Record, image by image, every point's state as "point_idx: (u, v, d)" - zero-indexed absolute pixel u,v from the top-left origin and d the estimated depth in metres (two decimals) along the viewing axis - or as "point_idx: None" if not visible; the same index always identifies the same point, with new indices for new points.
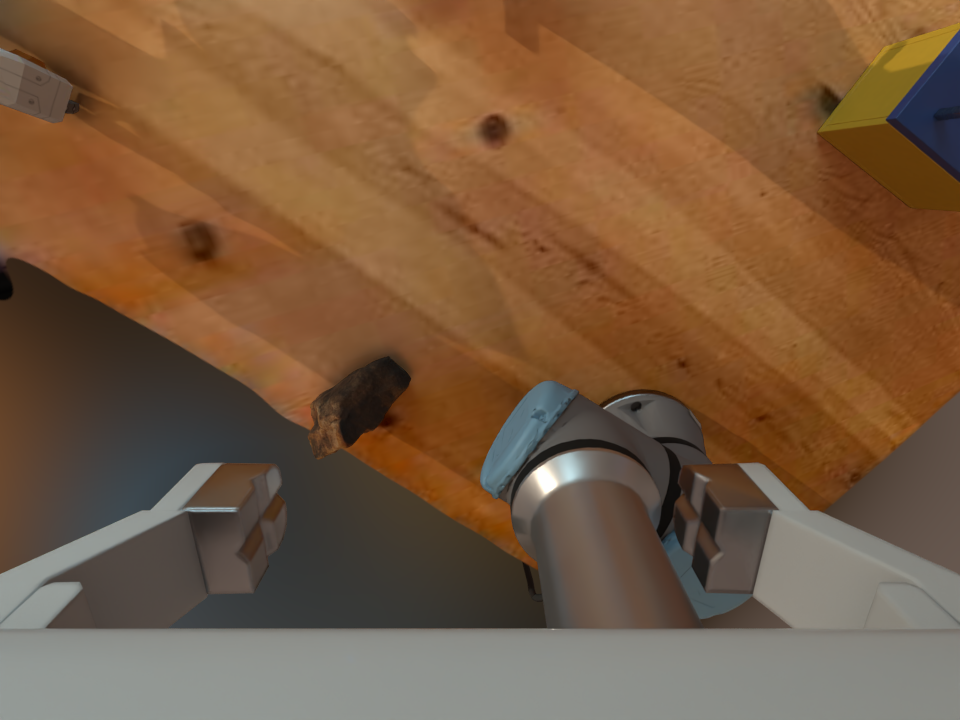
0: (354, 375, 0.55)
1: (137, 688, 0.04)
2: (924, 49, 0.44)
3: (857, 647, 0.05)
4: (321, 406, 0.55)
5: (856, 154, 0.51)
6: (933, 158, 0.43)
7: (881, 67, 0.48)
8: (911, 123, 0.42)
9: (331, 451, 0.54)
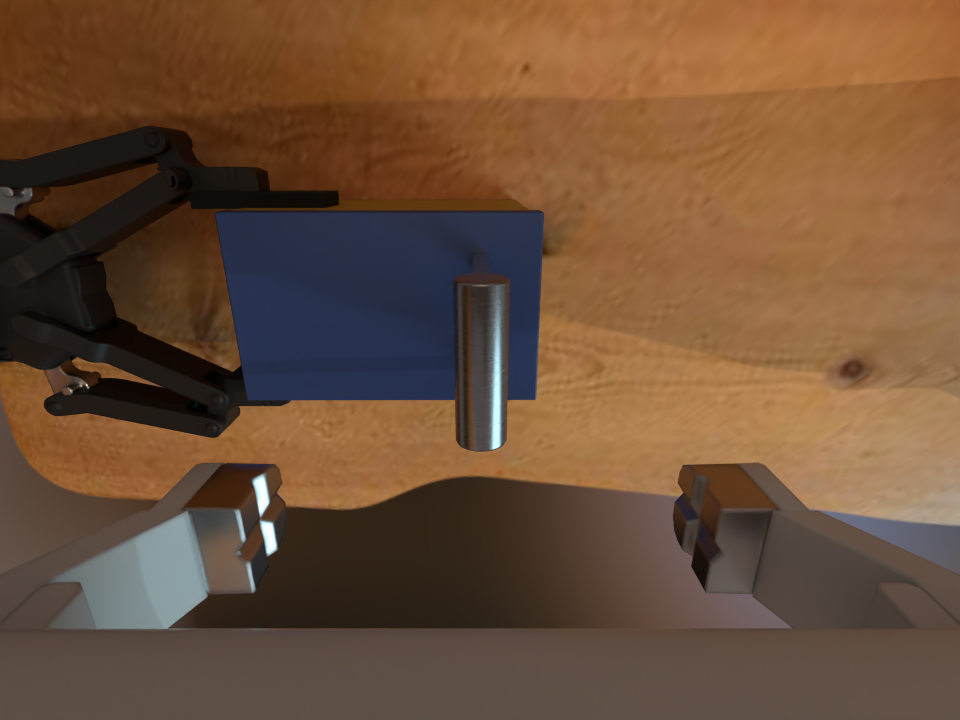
0: None
1: (137, 688, 0.04)
2: None
3: (857, 647, 0.05)
4: None
5: (451, 201, 0.31)
6: (417, 210, 0.23)
7: None
8: (511, 222, 0.22)
9: None
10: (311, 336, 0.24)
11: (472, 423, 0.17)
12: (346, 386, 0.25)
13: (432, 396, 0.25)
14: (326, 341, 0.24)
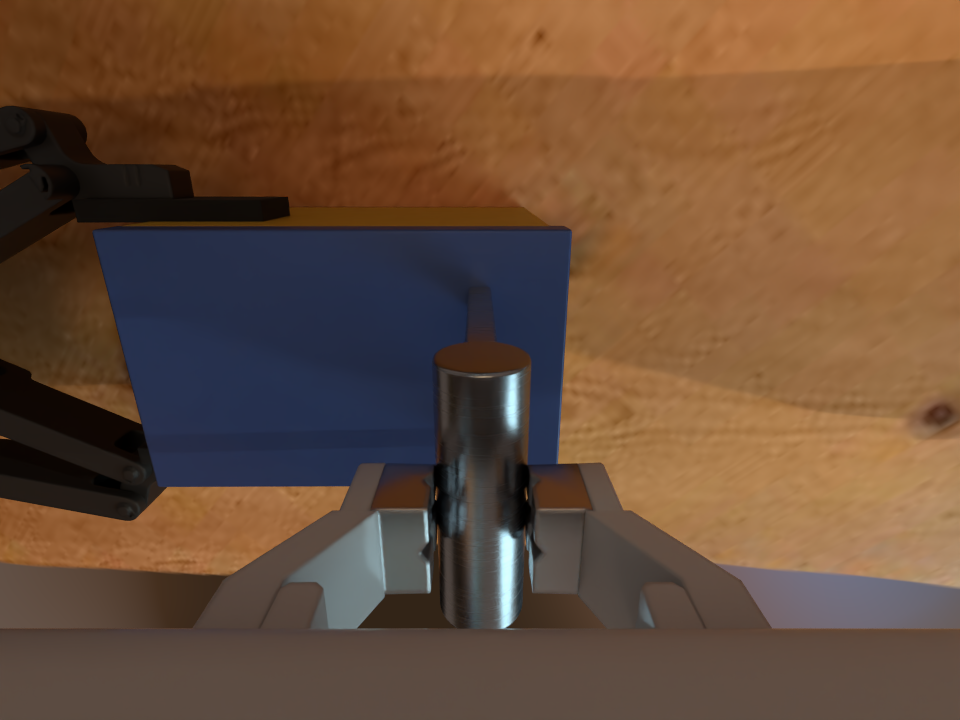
0: None
1: (137, 688, 0.04)
2: None
3: (857, 647, 0.05)
4: None
5: (442, 209, 0.24)
6: (388, 226, 0.16)
7: None
8: (525, 244, 0.15)
9: None
10: (242, 402, 0.17)
11: (466, 593, 0.10)
12: (294, 468, 0.18)
13: None
14: (263, 409, 0.17)
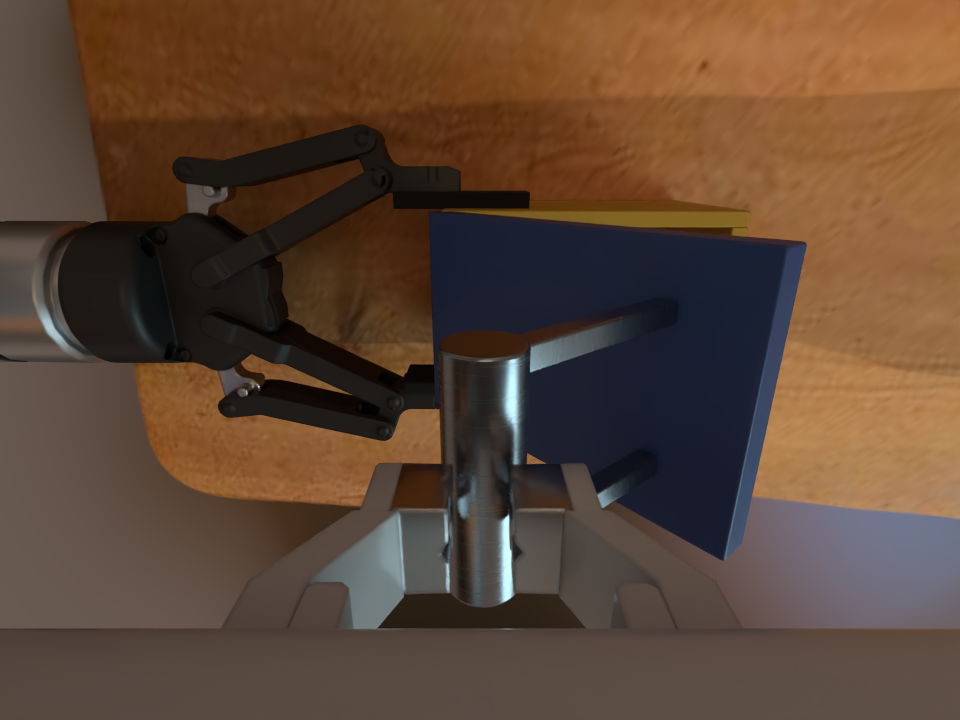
0: None
1: (137, 688, 0.04)
2: None
3: (857, 647, 0.05)
4: None
5: None
6: (608, 225, 0.16)
7: None
8: (724, 257, 0.13)
9: None
10: None
11: None
12: None
13: None
14: None
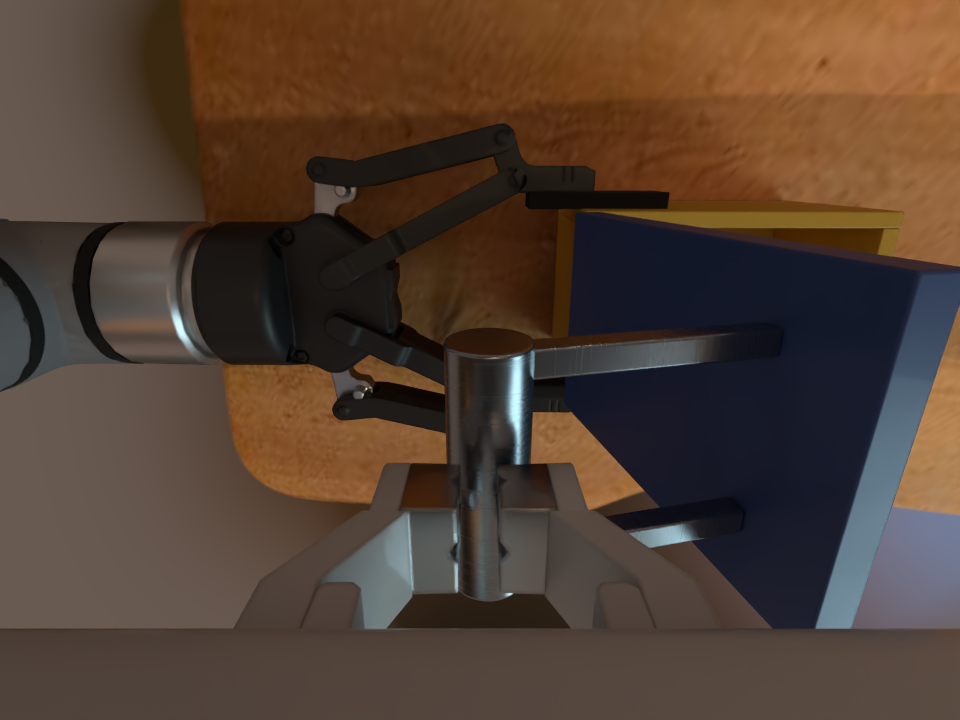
0: None
1: (137, 688, 0.04)
2: None
3: (857, 647, 0.05)
4: None
5: None
6: (734, 233, 0.14)
7: None
8: (840, 281, 0.10)
9: None
10: None
11: None
12: (613, 439, 0.20)
13: None
14: (609, 377, 0.20)
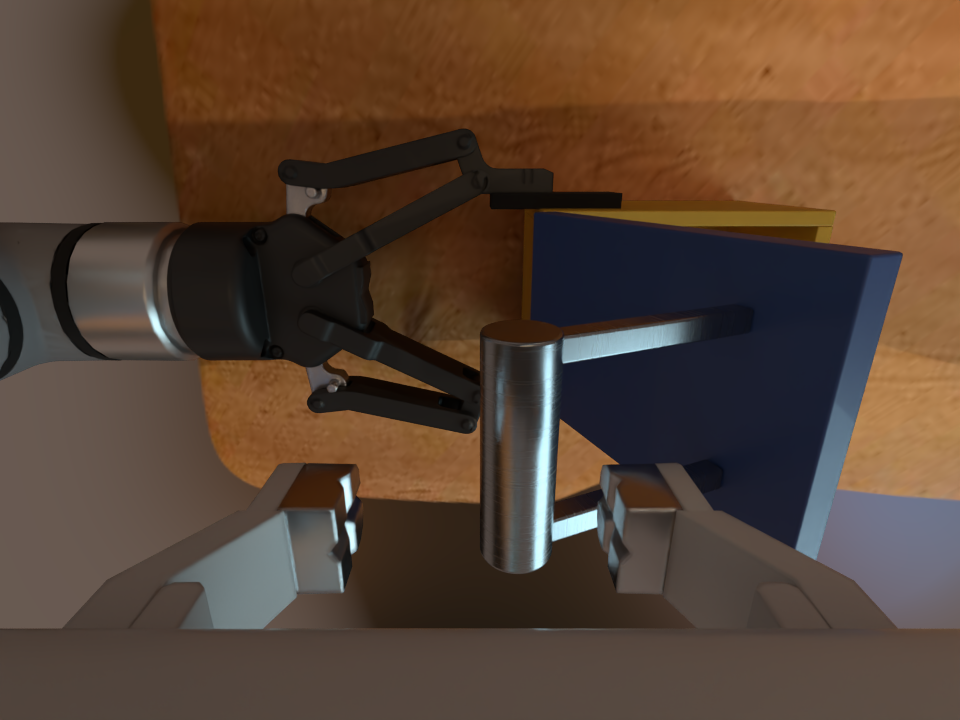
0: None
1: (137, 688, 0.04)
2: None
3: (857, 647, 0.05)
4: None
5: None
6: (696, 228, 0.16)
7: None
8: (803, 265, 0.12)
9: None
10: None
11: (480, 515, 0.13)
12: (585, 421, 0.22)
13: None
14: (578, 364, 0.21)
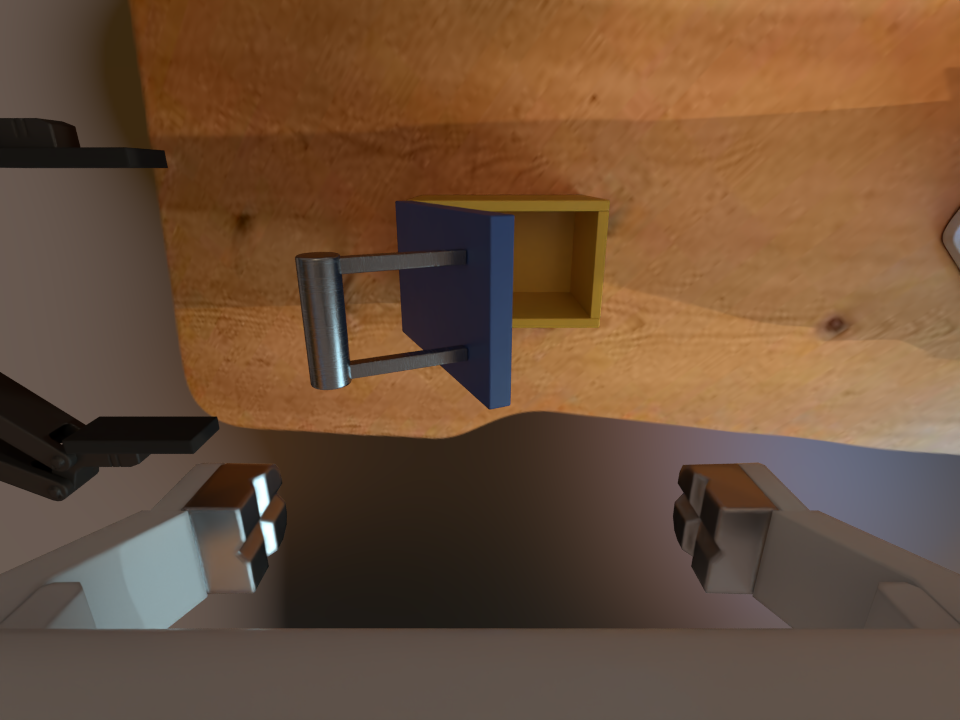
0: None
1: (137, 688, 0.04)
2: None
3: (857, 647, 0.05)
4: None
5: None
6: (458, 207, 0.26)
7: None
8: (476, 223, 0.23)
9: None
10: (415, 296, 0.33)
11: None
12: (424, 340, 0.32)
13: (449, 370, 0.29)
14: (419, 302, 0.32)
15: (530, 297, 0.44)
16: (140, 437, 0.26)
